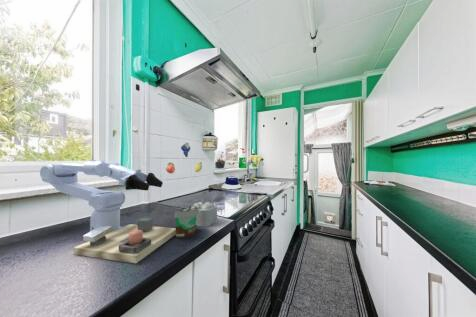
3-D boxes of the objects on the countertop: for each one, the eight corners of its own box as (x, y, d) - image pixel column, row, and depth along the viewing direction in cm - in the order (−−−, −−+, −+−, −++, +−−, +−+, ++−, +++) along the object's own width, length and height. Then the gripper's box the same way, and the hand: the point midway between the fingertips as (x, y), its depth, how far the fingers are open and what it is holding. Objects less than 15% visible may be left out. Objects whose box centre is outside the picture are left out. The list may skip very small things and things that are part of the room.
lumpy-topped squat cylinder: (205, 228, 71) (205, 207, 71) (184, 222, 77) (184, 203, 78) (219, 220, 80) (219, 202, 80) (199, 216, 86) (199, 199, 87)
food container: (189, 241, 58) (189, 213, 59) (173, 240, 59) (174, 212, 60) (203, 228, 70) (203, 204, 71) (190, 227, 72) (190, 204, 72)
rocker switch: (83, 240, 51) (82, 235, 50) (102, 229, 56) (102, 225, 56) (94, 242, 50) (93, 237, 50) (112, 230, 56) (112, 226, 55)
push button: (125, 244, 49) (125, 234, 49) (135, 239, 52) (135, 229, 52) (135, 245, 48) (136, 235, 48) (145, 240, 52) (145, 230, 52)
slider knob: (137, 230, 62) (137, 220, 62) (143, 227, 65) (143, 217, 65) (146, 231, 61) (147, 221, 62) (152, 228, 64) (152, 218, 64)
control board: (73, 254, 50) (73, 242, 50) (129, 228, 69) (129, 220, 69) (135, 263, 45) (136, 250, 45) (176, 233, 65) (177, 224, 65)
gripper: (111, 166, 59) (143, 178, 56) (142, 165, 73) (169, 174, 71) (106, 185, 59) (138, 197, 57) (138, 180, 73) (164, 190, 71)
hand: (155, 186), depth 64 cm, fingers open, 7 cm apart
